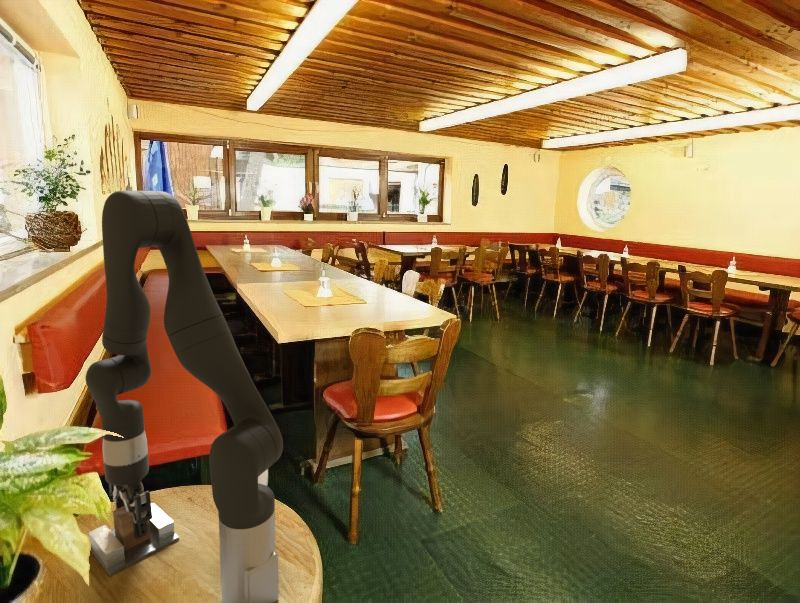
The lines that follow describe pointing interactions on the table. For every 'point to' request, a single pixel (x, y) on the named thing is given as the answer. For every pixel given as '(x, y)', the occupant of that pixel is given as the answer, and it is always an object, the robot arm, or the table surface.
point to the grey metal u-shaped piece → (115, 556)
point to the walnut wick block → (127, 528)
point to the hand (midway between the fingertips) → (131, 526)
